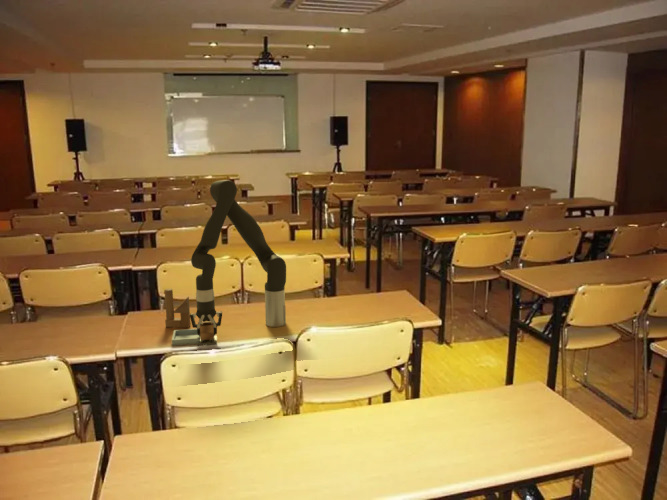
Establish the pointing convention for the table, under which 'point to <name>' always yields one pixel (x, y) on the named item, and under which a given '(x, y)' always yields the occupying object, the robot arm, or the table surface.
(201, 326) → the bored block
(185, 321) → the brown upright angular piece
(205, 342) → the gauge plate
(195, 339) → the tray
